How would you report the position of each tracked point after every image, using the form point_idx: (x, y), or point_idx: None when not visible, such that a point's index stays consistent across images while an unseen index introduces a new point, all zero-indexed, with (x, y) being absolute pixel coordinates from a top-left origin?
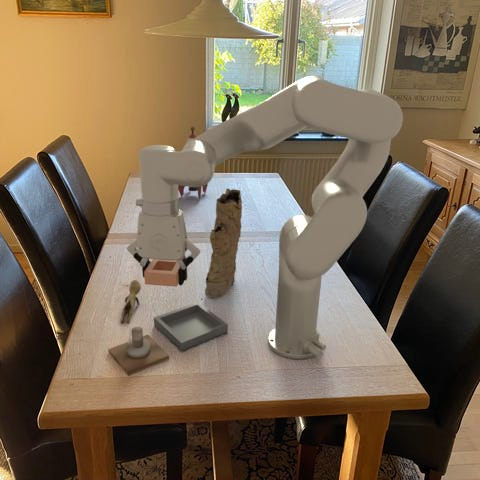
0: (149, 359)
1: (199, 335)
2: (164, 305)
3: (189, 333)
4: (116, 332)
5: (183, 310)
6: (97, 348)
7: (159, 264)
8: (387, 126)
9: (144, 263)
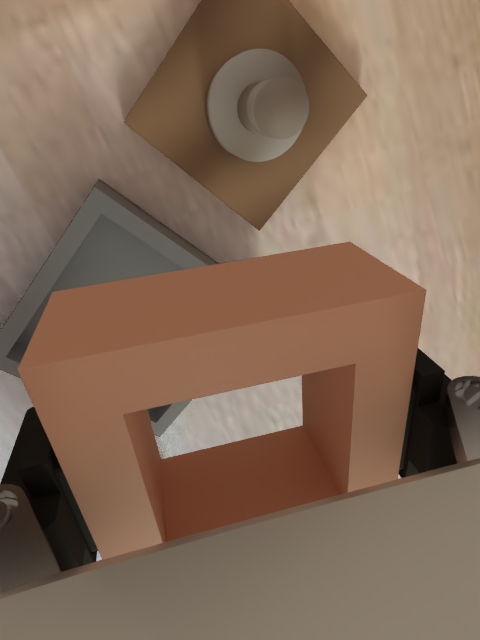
0: (189, 69)
1: (48, 259)
2: (270, 399)
3: None
4: (368, 223)
5: None
6: (404, 112)
7: (318, 484)
8: None
9: (467, 407)
